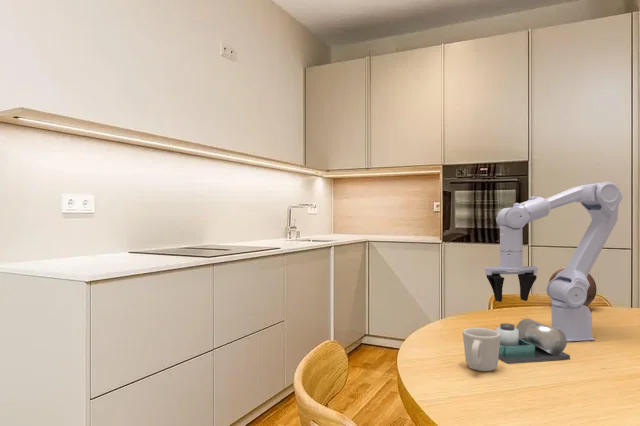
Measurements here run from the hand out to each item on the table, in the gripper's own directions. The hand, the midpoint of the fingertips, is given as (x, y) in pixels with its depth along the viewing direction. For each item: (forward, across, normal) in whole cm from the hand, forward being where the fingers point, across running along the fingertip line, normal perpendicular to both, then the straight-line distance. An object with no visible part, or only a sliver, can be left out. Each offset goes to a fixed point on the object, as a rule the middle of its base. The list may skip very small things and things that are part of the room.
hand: (511, 300), depth 123 cm
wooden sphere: (+10, -43, -31) cm, 54 cm away
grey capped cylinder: (+9, +8, +12) cm, 17 cm away
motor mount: (+10, +5, +12) cm, 17 cm away
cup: (+11, +21, +21) cm, 31 cm away
